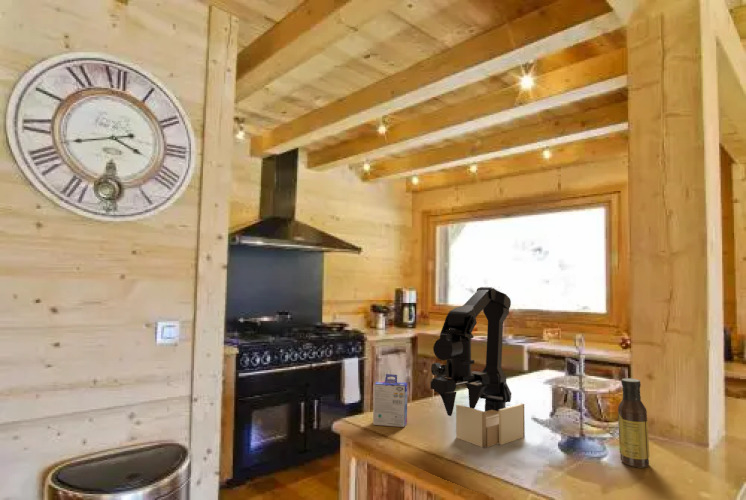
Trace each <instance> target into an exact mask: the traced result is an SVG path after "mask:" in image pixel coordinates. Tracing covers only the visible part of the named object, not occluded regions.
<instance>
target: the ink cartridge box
mask: <svg viewBox="0 0 746 500" xmlns="http://www.w3.org/2000/svg"><path fill="white" fill-rule="evenodd" d="M391 377H393V379H392V378H391ZM372 409H373V413H372V415H373V416H372V419H373V420H372V425H374V426H383V427H385V426H387V427H401V428H405V427H406V425H407V423H408V382H404V381H403V382H401V381H398V374H388V373H386V374H385V379H384V381H379V380H378V381H376V382H375V383H374V384H373V408H372Z"/></svg>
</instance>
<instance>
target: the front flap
mask: <svg viewBox="0 0 746 500" xmlns="http://www.w3.org/2000/svg"><path fill="white" fill-rule="evenodd" d="M455 407H456V408H455V412H456V413H455V421H456V422H455V426H456V427H455V428H456V429H455V433H456V435H455V436H456V437H455V438H456V439H459V440H461V441H464V442H467V443H470V444H473V445H476V446H478V447H480V448H483V449H486V448H487V447H486V412H485V410H484V411H483V410H480V409H476V408H474V409H473V408H470V406H466V405H463V404H460V403H459V404H458V403H457V404H456V405H455Z"/></svg>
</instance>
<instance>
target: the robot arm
mask: <svg viewBox="0 0 746 500" xmlns="http://www.w3.org/2000/svg"><path fill="white" fill-rule="evenodd" d="M511 301H512V300H511V297H509V296H508V295H507V294H506V293H504V292H502V291H499V290H497V289H496V288H494V287H493V286H492V287H491V286H480V287H477V289H476V291H475V293H474V294H473V295H472V296H471V297H469V299H468V300H467V301H466V302H465V303H464V304H462V305H460V306H457V307H454V308H452V309H450V310H449V311H448V313H447V314H446V316H445V319H444V323H443V325H442V328H441V331H440V334H439V338H438V339H437V340H436V341H435V342H434V345H433V347H432V349H433V354H434V355H435V357H436V358H437V359H438V360H440V361H446V362H445V363H446V364H441V363H440V362H433V363H432V364H431V368H430V370H431V371H430V372H431V374H432V375H433V376H435V377H433V378H431V380H430V389H431V390H433V392H435V393H437V394H438V395H439V396H440V397H441V400H442V402H443V405H444V408H445V411H446V414H447V416H449V417H452V416H453V411H454V409H455V408H454V407H455V402H456V397H457V391H456V388H457V386H462V385H465V386H466V388H467V391H468V407H470V408H473V409H476V406H477V404H478V402H479V400H480V399H483V400H484V412H485V411H489V410H495V411H499V409H503V408H507V407H506V405H507V404H506V403H510V402H511V400H512V392H511V390H510V387H509V385H508V384H507V376H506V374H505V372H504V370H503V368H502V363H503V362H502V358H503V335H504V322H505V320H506V319H507V318H508V316H509V314H510V309H511V306H512V302H511ZM482 311H483V314H484V316H485V317H486V321H487V331H486V332H487V333H486V335H487V336H486V351H485V353H486V355H485V367H484V368H483V370H482V371H478V370H477V371H475V370H474V371H472V365H473V364H475V359H472V339H473V338H474V335H473V334H472V332H473V331H474V329H475V327H476V325H477V317H478V316H479V314H480V313H481V312H482Z"/></svg>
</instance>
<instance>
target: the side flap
mask: <svg viewBox="0 0 746 500" xmlns="http://www.w3.org/2000/svg"><path fill="white" fill-rule="evenodd" d="M525 422H526V421H525V404H524V403H518V404H514V405H512V406H508V407H506V408H503V409H499V443H498V445H504V444H508V443H511V442H513V441H517V440H521V439H522V438H525V436H526V435H525V433H526V432H525V431H526V429H525V428H526V427H525Z"/></svg>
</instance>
